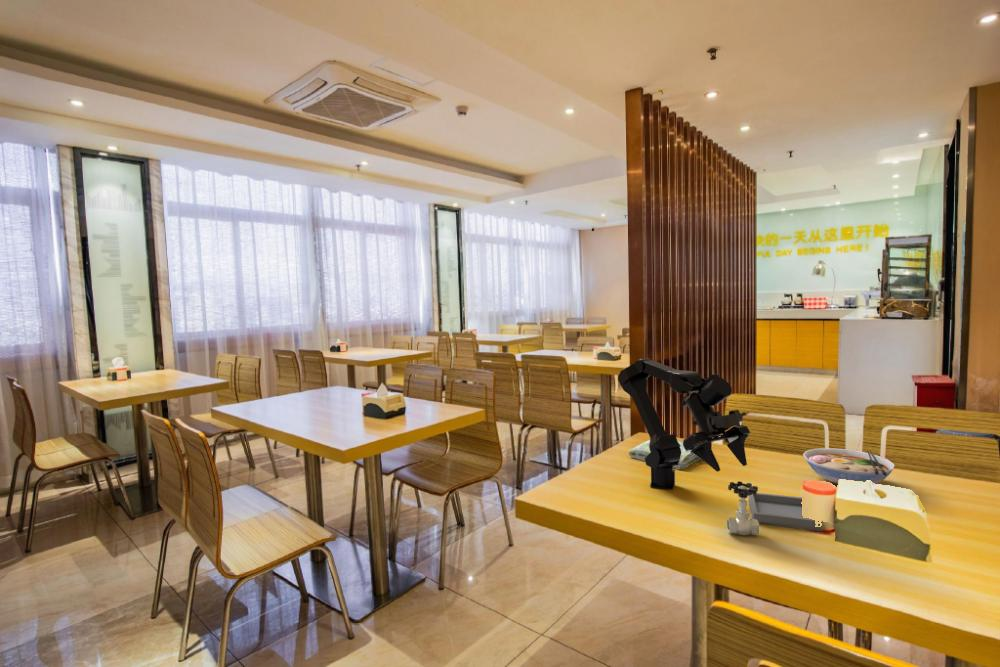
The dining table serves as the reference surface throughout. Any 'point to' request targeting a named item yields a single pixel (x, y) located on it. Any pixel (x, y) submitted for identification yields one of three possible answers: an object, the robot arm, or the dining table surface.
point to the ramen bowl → (848, 465)
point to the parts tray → (780, 511)
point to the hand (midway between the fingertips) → (732, 468)
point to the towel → (685, 460)
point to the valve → (743, 511)
